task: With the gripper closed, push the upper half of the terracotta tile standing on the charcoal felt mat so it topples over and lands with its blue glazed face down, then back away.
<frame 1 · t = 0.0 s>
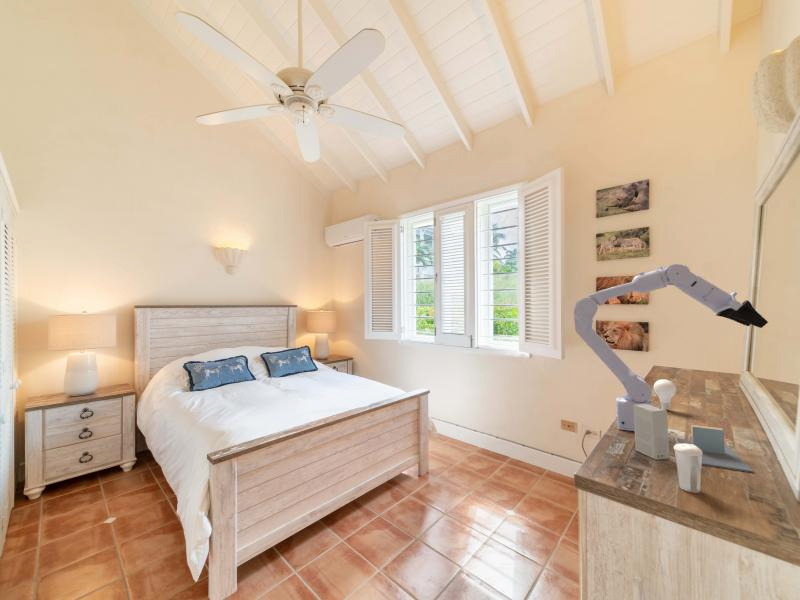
hand: (757, 324, 90), 32 cm above the dresser top, tool tilted 50°, fingers open, 7 cm apart
skincare box: (651, 455, 85), on the dresser top
milkshake: (687, 488, 69), on the dresser top
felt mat: (709, 454, 84), on the dresser top
tile: (708, 451, 85), resting on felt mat
lightbulb: (665, 410, 119), on the dresser top
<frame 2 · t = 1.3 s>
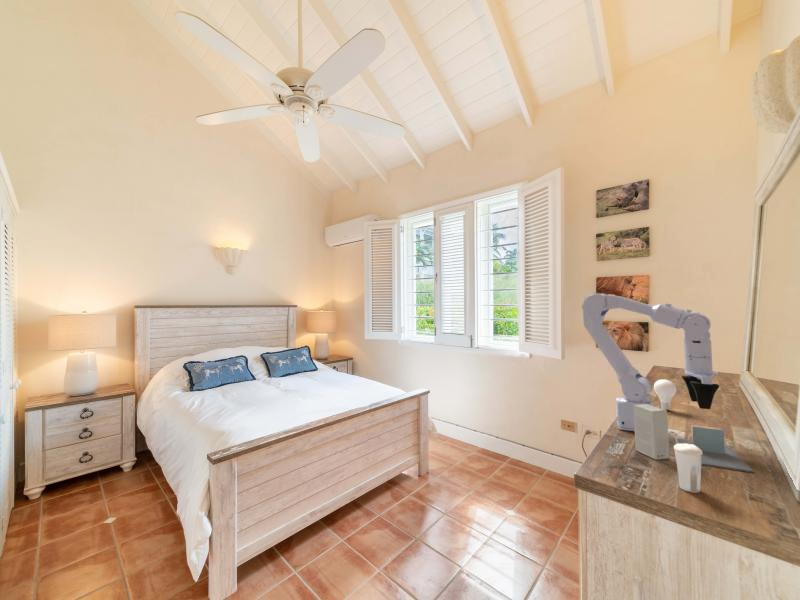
hand: (700, 404, 93), 10 cm above the dresser top, tool pointing down, fingers open, 7 cm apart
nothing on the dresser top moved.
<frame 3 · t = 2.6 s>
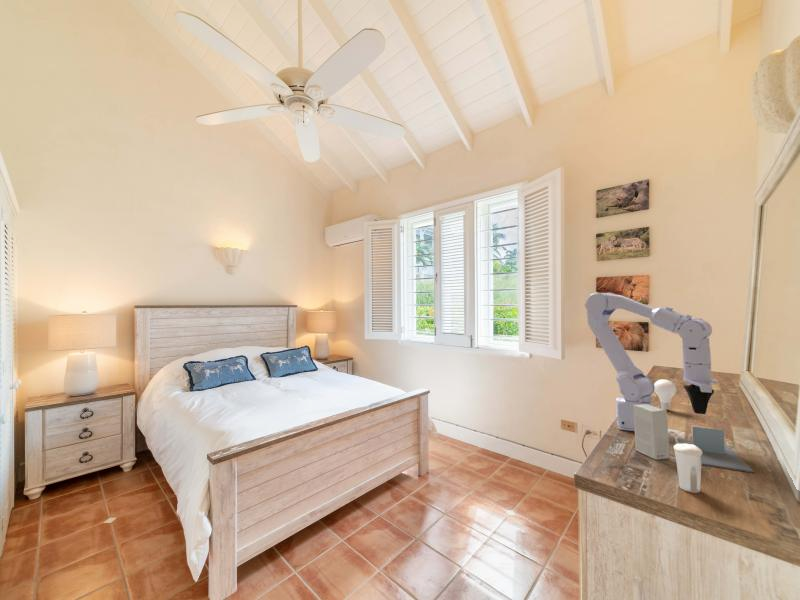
hand: (699, 413, 91), 8 cm above the dresser top, tool pointing down, fingers closed
nothing on the dresser top moved.
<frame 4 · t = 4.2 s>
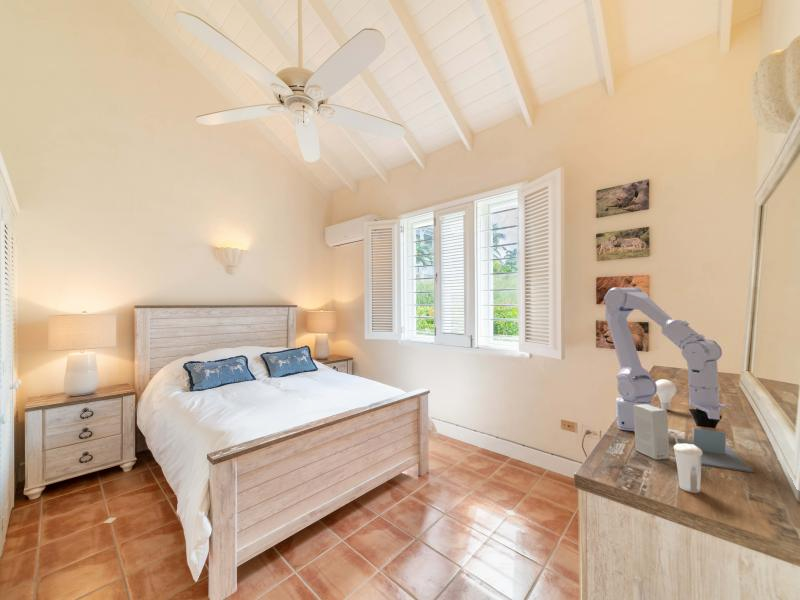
hand: (706, 439, 86), 3 cm above the dresser top, tool pointing down, fingers closed
tile: (708, 450, 85), point 1 cm above the dresser top, tilted 12°, touching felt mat
everything else where it was.
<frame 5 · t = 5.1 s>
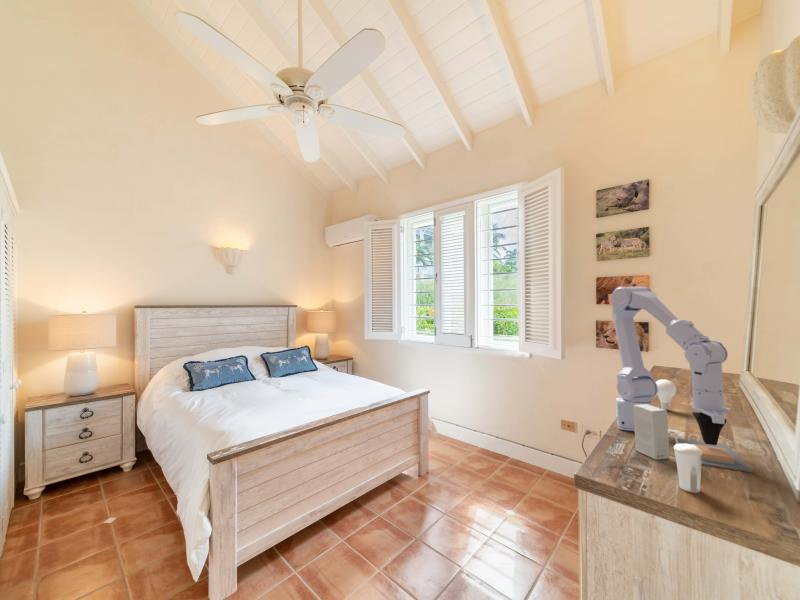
hand: (710, 443, 83), 3 cm above the dresser top, tool pointing down, fingers closed
tile: (709, 449, 84), point 1 cm above the dresser top, tilted 90°, touching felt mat
everything else where it was.
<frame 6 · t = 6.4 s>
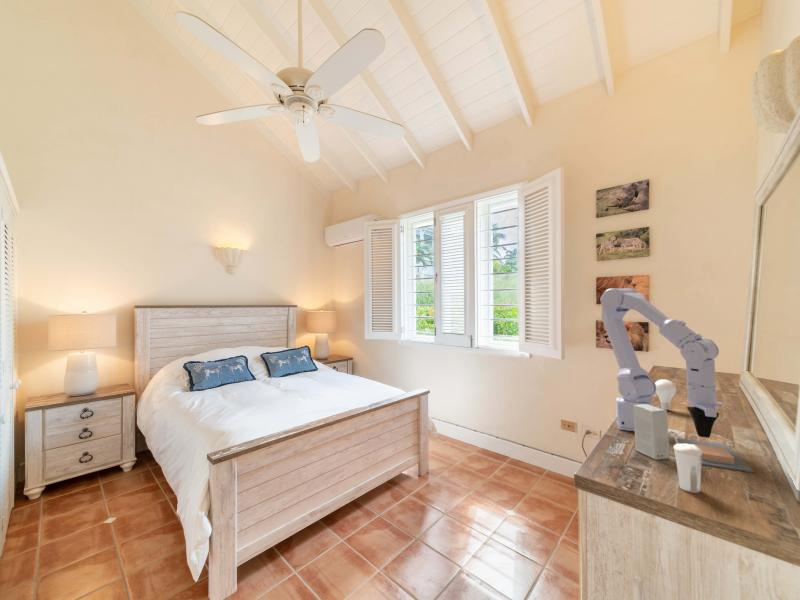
hand: (703, 436, 88), 3 cm above the dresser top, tool pointing down, fingers closed
nothing on the dresser top moved.
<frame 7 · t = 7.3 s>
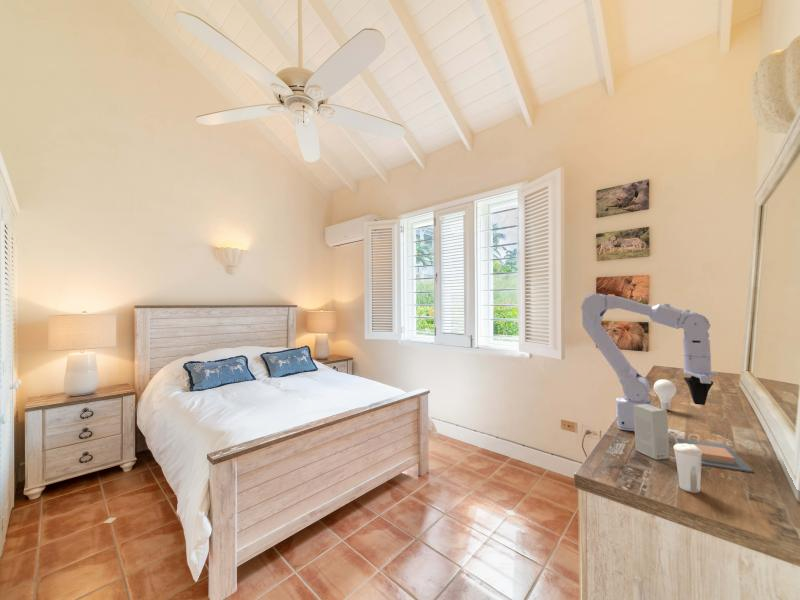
hand: (699, 404, 94), 10 cm above the dresser top, tool pointing down, fingers closed
nothing on the dresser top moved.
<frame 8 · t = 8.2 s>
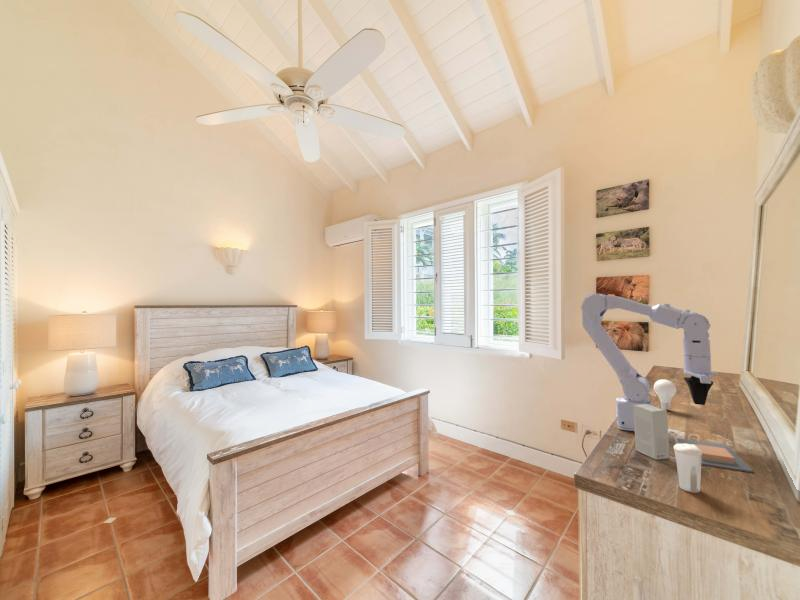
hand: (699, 404, 94), 10 cm above the dresser top, tool pointing down, fingers closed
nothing on the dresser top moved.
at the end: tile tilted 90°; tile inside the target area on the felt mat (0.1 cm from its centre), point 1.2 cm above the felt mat's base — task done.
